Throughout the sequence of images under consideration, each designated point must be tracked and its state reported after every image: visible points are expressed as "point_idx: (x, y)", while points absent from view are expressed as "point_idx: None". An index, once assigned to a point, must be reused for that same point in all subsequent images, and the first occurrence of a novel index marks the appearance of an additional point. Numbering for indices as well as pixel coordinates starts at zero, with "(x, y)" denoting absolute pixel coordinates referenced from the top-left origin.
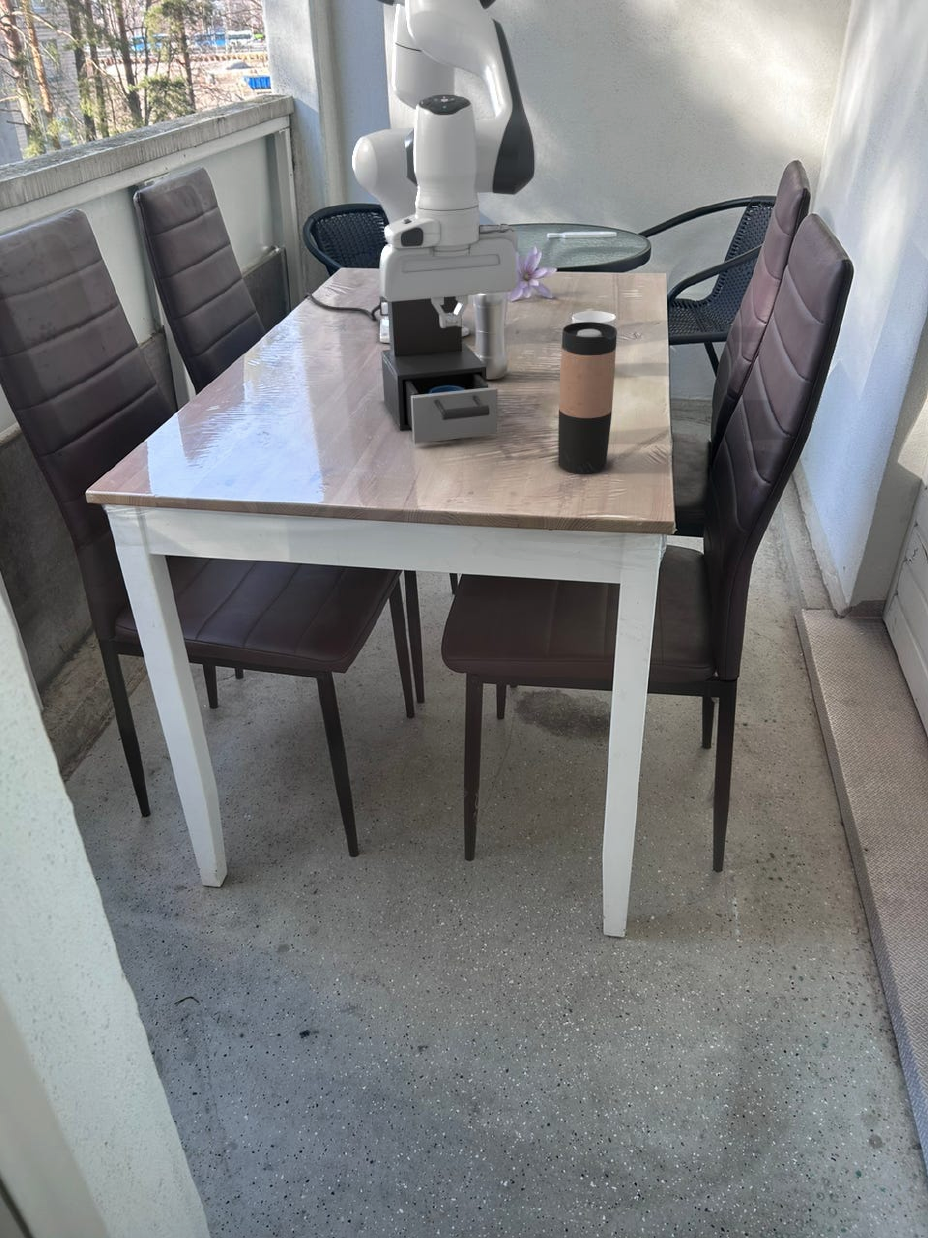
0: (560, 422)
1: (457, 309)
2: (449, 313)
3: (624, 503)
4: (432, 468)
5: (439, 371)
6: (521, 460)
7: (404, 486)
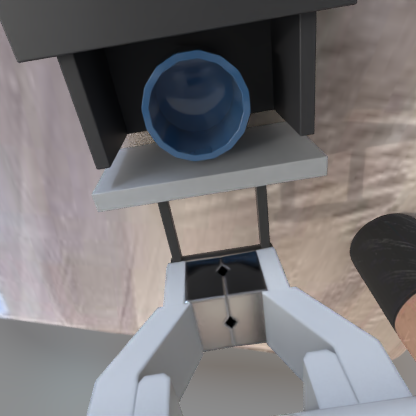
0: (384, 304)
1: (284, 340)
2: (229, 306)
3: (376, 334)
4: (156, 236)
5: (174, 34)
6: (302, 222)
7: (116, 284)
